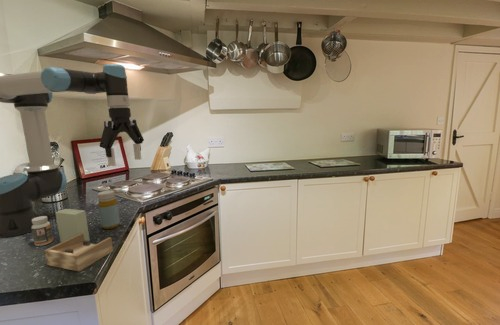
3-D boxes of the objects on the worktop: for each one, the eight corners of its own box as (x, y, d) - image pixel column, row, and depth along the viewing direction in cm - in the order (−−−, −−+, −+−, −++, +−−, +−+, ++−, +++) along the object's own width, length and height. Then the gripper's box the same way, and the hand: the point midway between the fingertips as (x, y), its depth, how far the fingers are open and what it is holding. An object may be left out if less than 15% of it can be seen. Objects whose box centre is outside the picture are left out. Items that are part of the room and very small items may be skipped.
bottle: (122, 222, 120) (118, 189, 118) (115, 229, 114) (110, 194, 111) (106, 223, 120) (102, 190, 118) (98, 230, 113) (93, 195, 111)
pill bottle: (53, 243, 103) (48, 218, 101) (34, 248, 100) (29, 222, 98) (53, 238, 107) (49, 214, 106) (35, 242, 104) (30, 217, 102)
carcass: (47, 264, 88) (44, 250, 87) (83, 246, 100) (81, 233, 99) (79, 271, 83) (76, 256, 82) (113, 250, 95) (111, 237, 94)
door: (58, 243, 103) (53, 213, 101) (70, 237, 107) (65, 208, 105) (78, 246, 99) (73, 215, 97) (89, 240, 104) (85, 210, 102)
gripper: (99, 106, 91) (107, 169, 95) (149, 107, 115) (154, 157, 118) (82, 107, 94) (91, 168, 98) (134, 108, 117) (140, 157, 121)
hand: (126, 162), depth 108 cm, fingers open, 13 cm apart
